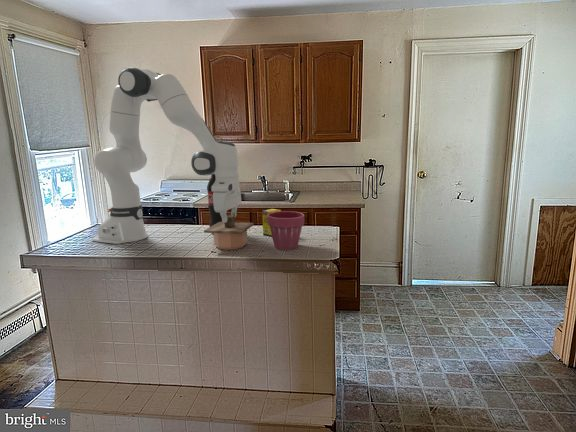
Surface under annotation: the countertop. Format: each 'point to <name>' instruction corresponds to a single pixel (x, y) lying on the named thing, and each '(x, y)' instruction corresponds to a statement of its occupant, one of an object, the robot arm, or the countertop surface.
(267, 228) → the supplement box
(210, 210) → the cola bottle
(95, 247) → the countertop surface
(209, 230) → the walnut lid
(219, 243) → the terracotta bowl
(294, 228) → the plant pot
